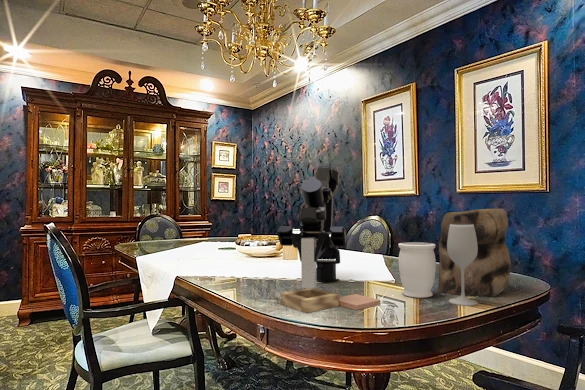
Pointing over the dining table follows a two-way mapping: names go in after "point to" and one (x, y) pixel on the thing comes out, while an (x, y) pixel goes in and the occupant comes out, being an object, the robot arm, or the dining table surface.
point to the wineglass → (462, 254)
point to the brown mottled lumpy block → (490, 257)
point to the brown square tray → (309, 299)
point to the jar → (417, 268)
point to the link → (308, 262)
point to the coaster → (358, 301)
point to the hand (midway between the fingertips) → (308, 260)
